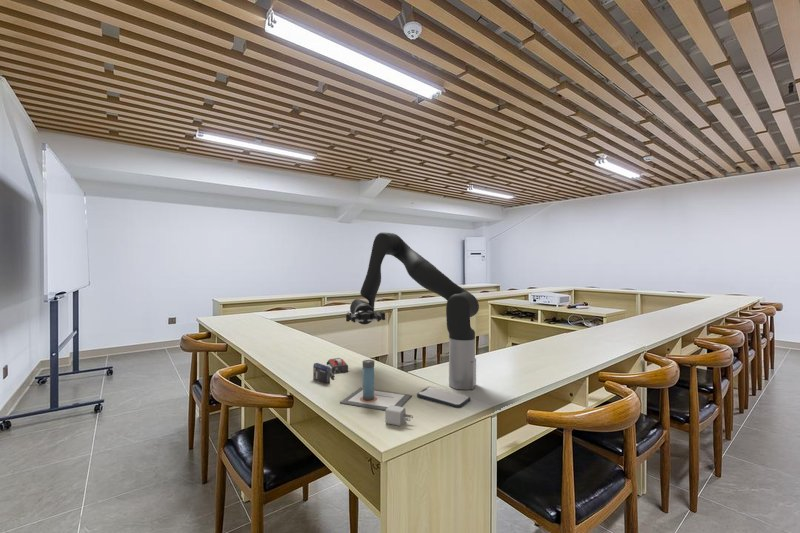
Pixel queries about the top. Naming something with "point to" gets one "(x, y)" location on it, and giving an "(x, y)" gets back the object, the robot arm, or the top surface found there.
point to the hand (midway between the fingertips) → (366, 319)
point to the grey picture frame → (377, 399)
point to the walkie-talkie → (337, 366)
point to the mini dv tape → (321, 373)
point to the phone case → (443, 397)
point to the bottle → (368, 380)
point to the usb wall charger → (396, 415)
